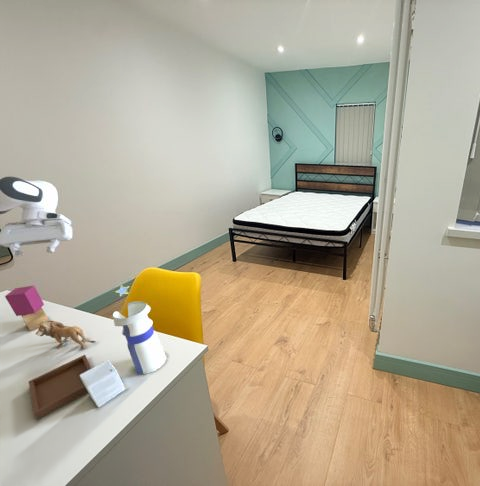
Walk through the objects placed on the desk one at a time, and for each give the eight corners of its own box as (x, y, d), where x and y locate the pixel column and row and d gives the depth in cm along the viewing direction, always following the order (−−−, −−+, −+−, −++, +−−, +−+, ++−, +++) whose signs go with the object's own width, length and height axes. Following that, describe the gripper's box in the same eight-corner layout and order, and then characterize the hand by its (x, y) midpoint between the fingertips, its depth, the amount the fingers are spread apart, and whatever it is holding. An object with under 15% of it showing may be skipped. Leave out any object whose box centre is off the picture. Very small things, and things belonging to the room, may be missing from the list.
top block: (16, 316, 87) (4, 296, 84) (26, 307, 92) (15, 288, 88) (35, 313, 89) (24, 293, 86) (44, 304, 93) (34, 285, 90)
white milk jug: (125, 371, 74) (93, 297, 64) (152, 349, 81) (127, 280, 71) (147, 379, 71) (117, 304, 61) (172, 355, 79) (150, 285, 69)
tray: (32, 386, 70) (28, 381, 69) (87, 359, 78) (84, 354, 77) (37, 419, 62) (33, 414, 61) (99, 385, 70) (96, 380, 69)
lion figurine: (41, 350, 81) (28, 328, 77) (57, 338, 86) (45, 316, 82) (90, 349, 81) (79, 326, 78) (102, 336, 86) (92, 314, 83)
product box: (117, 378, 72) (108, 358, 69) (126, 389, 68) (117, 369, 66) (89, 395, 67) (78, 374, 64) (97, 408, 64) (86, 387, 61)
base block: (30, 330, 89) (22, 316, 87) (26, 325, 92) (18, 311, 90) (50, 322, 93) (42, 308, 91) (46, 317, 96) (39, 304, 93)
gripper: (-5, 219, 94) (-12, 255, 89) (66, 213, 100) (62, 246, 95) (10, 227, 99) (4, 261, 95) (76, 221, 106) (73, 252, 101)
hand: (34, 253), depth 95 cm, fingers open, 8 cm apart
